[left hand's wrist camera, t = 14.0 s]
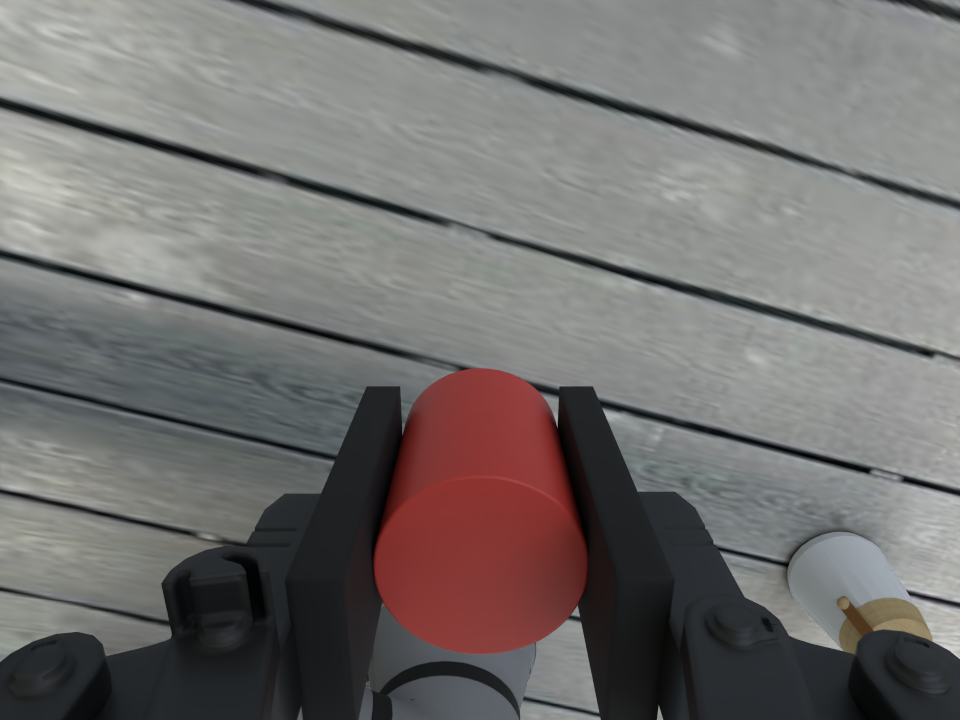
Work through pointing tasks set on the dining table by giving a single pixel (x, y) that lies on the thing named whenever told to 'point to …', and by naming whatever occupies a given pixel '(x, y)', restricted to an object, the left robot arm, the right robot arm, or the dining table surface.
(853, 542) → the pendant light
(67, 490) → the dining table surface
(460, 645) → the can
